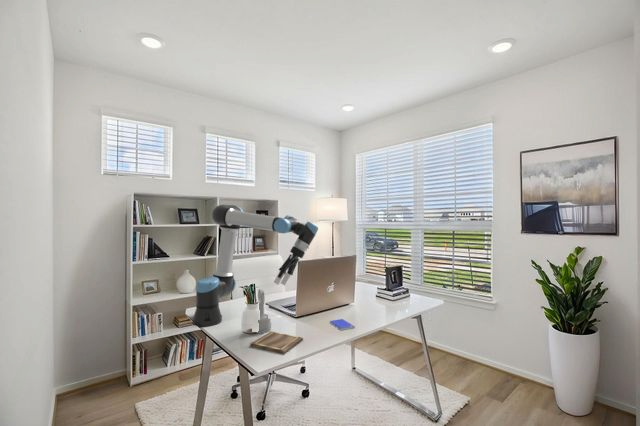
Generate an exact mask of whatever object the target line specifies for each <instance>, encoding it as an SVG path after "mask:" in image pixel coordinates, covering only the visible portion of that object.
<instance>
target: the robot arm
mask: <svg viewBox="0 0 640 426" xmlns="http://www.w3.org/2000/svg"><path fill="white" fill-rule="evenodd" d="M211 218H212V221H213V222H214V223H215V224H216V225H219V226H218V227H219V228H220V230H221V232H220V241H219V247H218V248H219V249H218V256H217V261H216V262H217V264H216V270H215V271H213V272H212V273H213V274H212V276H207V277H203V278H201V279H199V280H197V282H196V287H195V290H196V291H195V292H196V294H195V295H196V298H195V302H196V304H195V312H194V315H193V318H192V325H193V326H196V327H212V326H214V325H218V324H220V323H222V321H223V316H222V314H221V309H220V306H219V305H220V302H219V301H220V299H221V298H223V297H227V296H229V295H230V294H231V293H233V292H234V291H235V289H236V286H237V281H236V279H235V277H234V276H235V275H234V272H233V271H232V270H233V261H234V254H235V246H236V239H237V232H238V231H239V230H240V228H241V227H246V228H252V229H253V228H254V229H259V230H265V231H271V232H276V233H278V234H287V233H293V234H294V235H296V236H298V237H297V239H296V240H295V242H294V244H293V245H294V246H292V247H291V249H290V251H289V252H290V254H289V255H288V257H287V259H286V260H284V262H283V263H282V265H281V266H280V268H278V270H279V272H278V274H277V275H276V277H275V278H274V280H273V283H275V284H276V285H277V286H278V285H279V284H282V286H286V284H287V282H288V281H289V279H290V278H291V277H292V276H293V275H294V272H295V270H296V267H297V265H298V262H299V261H300V259H303V257H304V256H305V253H306V252H307V250H308V249H310V245H311V243H312V242H313V240H314V238H315V237H316V235H317V233H318V230H319V227H318V225H316V224H315V223H313V222H311V221H306V222H302V221H300V220H299V219H297V218H295V217H293V216H291V215H285V216H284V217H278V216H271V215H266V214H261V213H260V214H259V213H251V212H247V211H244V210H243V208H241V207H240V206H238V205H233V204H218V205H217V206H215V207H214V208H213V209H212V211H211Z"/></svg>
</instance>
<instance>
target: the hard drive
mask: <svg viewBox="0 0 640 426" xmlns="http://www.w3.org/2000/svg"><path fill="white" fill-rule="evenodd" d="M329 323H330V324H331V325H333V326H334V327H336V328H337V329H338V330H339V331H345V330H350V329H355V328H356V327H355V326H354V325H353V324H351V323H350V322H349V321H346V320H345V319H343V318H340V319H335V320H330V321H329Z"/></svg>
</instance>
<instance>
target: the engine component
mask: <svg viewBox="0 0 640 426" xmlns="http://www.w3.org/2000/svg"><path fill="white" fill-rule="evenodd" d="M265 300H266V299H265V290H264V288H259V289H258V291H257V301H258V311H259V310H260V320H258V323H259V331H258V333H257V334H267V333H269V332H272V322H271V320H272V319H271V318H269V315H268V314H267V313H265V310H264V309H265V307H264V305H265Z"/></svg>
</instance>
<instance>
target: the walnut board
mask: <svg viewBox="0 0 640 426" xmlns="http://www.w3.org/2000/svg"><path fill="white" fill-rule="evenodd" d="M303 341H304V338H303V337H301V336H296V335H291V334H287V333H280V332H276V331H269V332H266V333H265V334H264V335H262V336H260V337H259V338H257V339H255V340H253V341H252V342H250V343H249V346H250V347H252V348H256V349H261V350H265V351H269V352H274V353H278V354H282V355H285V354H287V353H288V352H290V351H291V350H292V349H294V348H295V347H297V345H299V344H300V343H302V342H303Z"/></svg>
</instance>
